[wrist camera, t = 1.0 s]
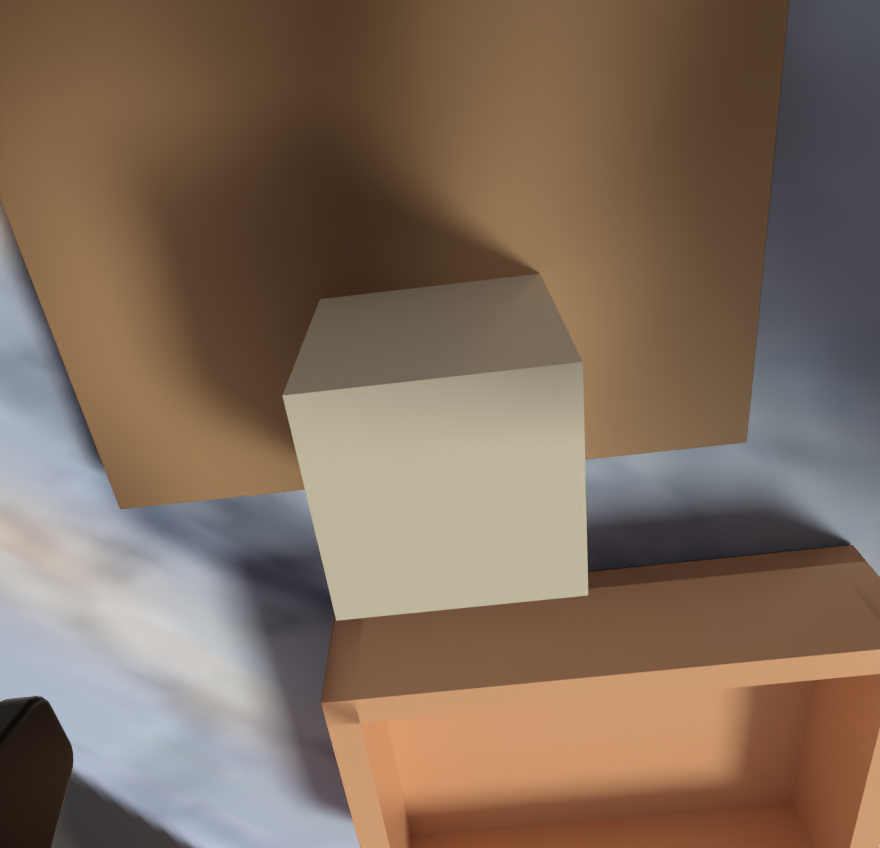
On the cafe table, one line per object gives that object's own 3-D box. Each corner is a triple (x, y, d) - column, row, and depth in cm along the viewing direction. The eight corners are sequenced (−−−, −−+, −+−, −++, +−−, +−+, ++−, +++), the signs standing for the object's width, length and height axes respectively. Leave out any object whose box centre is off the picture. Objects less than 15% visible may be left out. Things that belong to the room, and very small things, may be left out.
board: (799, -448, 10) (836, -496, 9) (728, 419, 16) (746, 442, 15) (-153, -305, 10) (-208, -338, 9) (136, 483, 16) (120, 509, 15)
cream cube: (540, 273, 13) (582, 362, 10) (549, 463, 15) (588, 595, 12) (320, 299, 13) (282, 395, 10) (356, 483, 15) (336, 621, 12)
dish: (852, 544, 17) (935, 643, 15) (804, 796, 22) (861, 910, 19) (337, 597, 18) (320, 703, 15) (392, 833, 22) (387, 949, 19)
